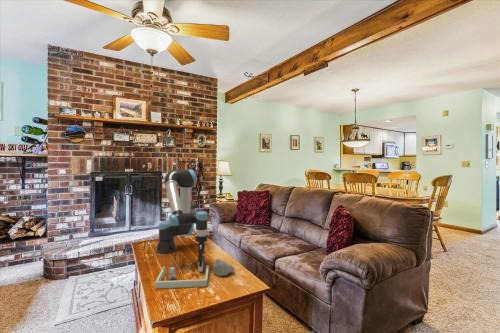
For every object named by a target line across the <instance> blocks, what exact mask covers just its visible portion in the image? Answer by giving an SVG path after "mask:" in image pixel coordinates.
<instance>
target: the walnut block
mask: <svg viewBox="0 0 500 333" xmlns="http://www.w3.org/2000/svg"><path fill="white" fill-rule="evenodd" d="M203 269H205V270H206V255H204V256H203Z"/></svg>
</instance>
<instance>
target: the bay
mask: <svg viewBox="0 0 500 333" xmlns="http://www.w3.org/2000/svg"><path fill="white" fill-rule="evenodd" d="M209 273H210V265H207V264H205V277H204V279H203V278H201V279H184V280H183V279H181V280H179V279H178V280H172V281H170V280H162V279H163V278H164V276H165V275H166V266H161V271H160V272H159V274H158V276H157V278H156V280H155V281H154V289H155V290H156V289H177V288H178V289H179V288H181V289H182V288H198V287H199V288H200V287H201V288H202V287H208V279H209Z"/></svg>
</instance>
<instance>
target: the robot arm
mask: <svg viewBox="0 0 500 333" xmlns="http://www.w3.org/2000/svg"><path fill="white" fill-rule="evenodd" d="M163 180H164V181H163V183H164V184H163V185H164V188H165V189H166V193H167V197H168V202H169V207H170V212H171V214H170V215H169V218H168V219H166V220H163V221H160V222H159V225H158V241H157V242H158V243H157V245H156V248H155V249H156V250H155V251H156V253H158V254H162V255H163V254H170V253H174V252H176V251H177V245H176V242H175V237H179V236H187V235H191V234H192V233H193V231H194V232H195V242H196V243H198V245H197V246H198V248H197V249H198V256H197V270H198V272H200V273H201V272H203V271H204V270H203V256H205V254H206V251H205V245H206V244H205V243H206V242H207V241H208V218H209V217H208V212H207V211H204V210H201V211H196V210H195V211H192V212H191V201H192V200H191V199H192V188H193V187H194V185H195V184H197V175H196V173H195V171H194V170H193V169H172V170H170V171H169V172H168V173H167V174H165V177H164V179H163ZM178 187H179V188H180V190H178ZM194 224H195V225H194ZM194 227H195V230H194Z"/></svg>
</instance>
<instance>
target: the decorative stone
mask: <svg viewBox="0 0 500 333" xmlns="http://www.w3.org/2000/svg"><path fill="white" fill-rule="evenodd" d="M212 270H213V273H214V275H216V276H217V277H224V276H227V275H229V274H232V273H233V272H234V271H235V268H234V266H233V265H231V264H229V263H228V262H226V261H224V260H222V259H220V258H219V259H215V261H214V264H213V266H212Z"/></svg>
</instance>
